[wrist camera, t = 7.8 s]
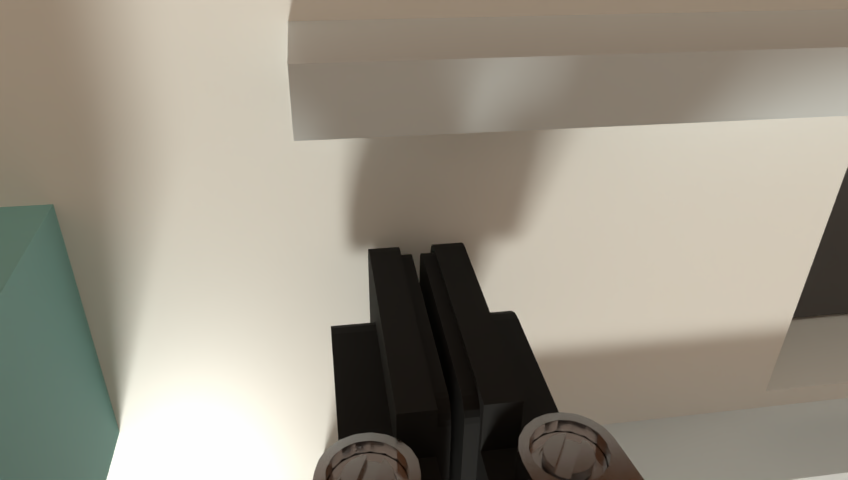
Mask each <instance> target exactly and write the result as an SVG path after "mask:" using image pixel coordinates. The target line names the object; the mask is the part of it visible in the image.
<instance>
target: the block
mask: <svg viewBox="0 0 848 480" xmlns="http://www.w3.org/2000/svg"><path fill="white" fill-rule="evenodd" d="M118 436H119V428H118V425H117V421H116V418H115V415H114V411H113V408H112V404H111V401H110V397H109V394H108V391H107V387H106V384H105V380H104V377H103V373H102V370H101V366H100V363H99V360H98V356H97V353H96V349H95V346H94V342H93V339H92V336H91V332H90V329H89V325H88V322H87V318H86V315H85V312H84V308H83V305H82V301H81V298H80V294H79V291H78V287H77V284H76V281H75V277H74V274H73V270H72V267H71V263H70V260H69V257H68V253H67V250H66V246H65V243H64V239H63V236H62V233H61V229H60V226H59V222H58V219H57V215H56V212H55V208H54V205H53V204H48V205H30V206H13V207H0V480H107V476H108V472H109V469H110V465H111V461H112V458H113V454H114V450H115V447H116V443H117V439H118Z"/></svg>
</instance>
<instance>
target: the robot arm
mask: <svg viewBox="0 0 848 480" xmlns="http://www.w3.org/2000/svg"><path fill="white" fill-rule="evenodd" d="M368 273H369V301H370V323H361V324H349V325H338V326H331V338H332V353H333V368H334V383H335V397H336V412H337V427H338V441H337V442H336V443H335V444H333V445H332V446H330V447H329V448H327V450H326V451H325V452H324V453H323V455H322V456H321V457H320V458H319V460H318V463H317V465H316V468H315V471H314V475H313V480H644V479H643V477H642V476H641V474H640V473H639V472H638V470H637V469H636V467H635V466H634V465H633V463H632V462H631V460H630V459H629V458H628V456H627V455H626V453H625V452H624V451H623V449H622V448H621V446H620V445H619V443H618V442H617V441H616V439H615V438H614V437H613V436H612V435H611V434H610V433H609V432H608V431H607V430H606V428H604V427H603V426H601V425H600V424H598V423H597V422H595V421H593V420H592V419H589V418H586V417H583V416H581V415H578V414H572V413H564V412H559V411H558V409H557V407H556V404H555V402H554V400H553V397H552V395H551V393H550V390H549V388H548V386H547V384H546V381H545V379H544V377H543V374H542V372H541V370H540V367H539V365H538V363H537V361H536V358H535V356H534V354H533V351H532V349H531V347H530V344H529V342H528V340H527V338H526V335H525V333H524V331H523V328H522V326H521V324H520V321H519V319H518V317H517V315H516V314H515V312H513V311H501V312H490V311H489V308H488V306H487V303H486V300H485V298H484V295H483V293H482V290H481V287H480V285H479V282H478V280H477V277H476V274H475V272H474V269H473V267H472V264H471V261H470V259H469V256H468V254H467V251H466V248H465V246H464V244H463V243H462V242H460V243H446V244H432V246H431V250H430V253H421V254H420V281H419V279H418V276H417V272H416V268H415V264H414V260H413V256H412V254H406V255H401V251H400V248H399V247H390V248H376V249H368Z"/></svg>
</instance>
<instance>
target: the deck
mask: <svg viewBox="0 0 848 480" xmlns="http://www.w3.org/2000/svg"><path fill="white" fill-rule="evenodd" d="M48 204H53V205H54V208H55V212H56V215H57V219H58V222H59V226H60V229H61V233H62V236H63V239H64V243H65V246H66V250H67V253H68V257H69V260H70V263H71V267H72V270H73V274H74V277H75V281H76V284H77V287H78V291H79V294H80V298H81V301H82V305H83V308H84V312H85V315H86V318H87V322H88V325H89V329H90V332H91V336H92V339H93V342H94V346H95V349H96V353H97V356H98V360H99V363H100V366H101V370H102V373H103V377H104V380H105V384H106V387H107V391H108V394H109V397H110V401H111V404H112V408H113V411H114V415H115V418H116V421H117V425H118V428H119V436H118V439H117V443H116V447H115V450H114V454H113V458H112V461H111V465H110V469H109V472H108V476H107V480H313V475H314V471H315V468H316V465H317V463H318V460H319V458H320V457H321V456H322V455H323V453H324V452H325V451H326V450H327V448H329V447H330V446H332V445H333V444H335V443H336V442H337V441H338V427H337V412H336V397H335V383H334V368H333V353H332V338H331V326H338V325H349V324H361V323H370V301H369V273H368V249H376V248H390V247H399V248H400V251H401V255H406V254H412V256H413V260H414V264H415V268H416V272H417V276H418V279H419V281H420V254H421V253H430V250H431V246H432V244H446V243H460V242H462V243H463V244H464V246H465V248H466V251H467V254H468V256H469V259H470V261H471V264H472V267H473V269H474V272H475V274H476V277H477V280H478V282H479V285H480V287H481V290H482V293H483V295H484V298H485V300H486V303H487V306H488V308H489V311H490V312H501V311H513V312H515V314H516V315H517V317H518V319H519V321H520V324H521V326H522V328H523V331H524V333H525V335H526V338H527V340H528V342H529V344H530V347H531V349H532V351H533V354H534V356H535V358H536V361H537V363H538V365H539V367H540V370H541V372H542V374H543V377H544V379H545V381H546V384H547V386H548V388H549V390H550V393H551V395H552V397H553V400H554V402H555V404H556V407H557V409H558V411H559V412H564V413H572V414H578V415H581V416H583V417H586V418H589V419H592V420H593V421H595V422H597V423H598V424H600V425H601V426H603V427H604V428H606V430H607V431H608V432H609V433H610V434H611V435H612V436H613V437H614V438H615V439H616V441H617V442H618V443H619V445H620V446H621V448H622V449H623V451H624V452H625V453H626V455H627V456H628V458H629V459H630V460H631V462H632V463H633V465H634V466H635V467H636V469H637V470H638V472H639V473H640V474H641V476H642V477H643V479H644V480H848V0H0V207H13V206H30V205H48Z"/></svg>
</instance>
